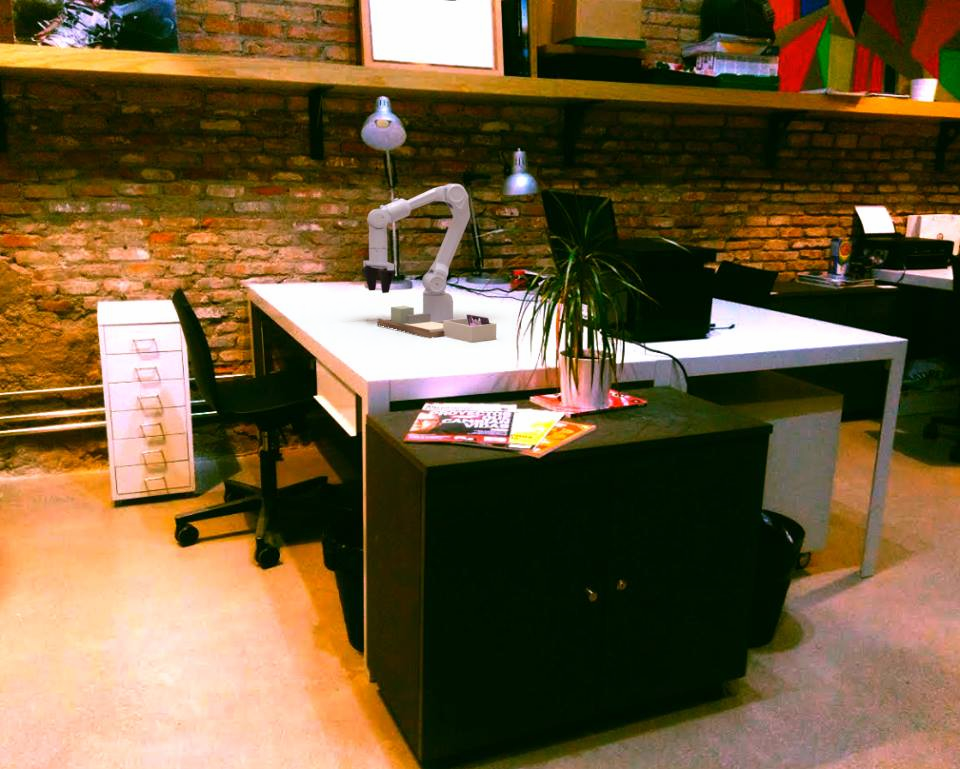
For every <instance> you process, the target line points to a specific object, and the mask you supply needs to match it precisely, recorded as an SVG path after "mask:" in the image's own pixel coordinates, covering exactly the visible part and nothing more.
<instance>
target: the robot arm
mask: <svg viewBox="0 0 960 769" xmlns="http://www.w3.org/2000/svg"><path fill="white" fill-rule="evenodd" d="M466 190H467V189H465V187H464V186H463V185H462V184H459V183H446V184H445V185H441V186H437V187H434V188H431V189H429V190H427V191H425V192H423V193H421V194H418V195H416V196H413V197H412V198H410V199H408V200H406V199H405V198H400V199H399V197H396V198H394V199H393V202H390V203H386V204H385V205H383V204H381V205H379V208H375V209H374V208H373V209H372V210H371V211H370V212H369V213H368V216H367V218H366V220H367V223H368V225H369V226H368V231H369V233H368V259H367V260H363V261H362V262H363V263H362V264H363V265H362V266H363V268H361V272H362V273H363V276H364V277H365V281H366V285H367V288H368V291H371V292H372V291H376V289H377V278H378V276H379V279H380V286H381V287H380V288H381V289H380V290H381V293H382V294H389V292H390V288H391V284H392V281H393V278H394V277H395V275H396V273H397V270H395V264H394V263H391V262H388V233H387V231H388V230H387V228H388V227H387V226H388V224H393V223H395V222H397V221H400V220H402V219H404V218H406V217H409V216H410V214H411V211H412V210H415V209H417V208H420V207H422V206H425V205H428V204H430V203H433V202H444V203H445V204H446V206H448V207H449V210H450V212H451V214H452V219H451V222H450V223H449V226H448V228H447V231H446V232H445V235H444V238H443V241H442V242H441V246H439V250H438V252H437V255H436V257H435V260H434V261H433V263H432V265H431V266H430V267H429V269H428V271H427V272H426V273H425V274H424V275H423V277H422V281H421V283H422V285H423V288H424V290H423V292H422V314H424V313H429V314H430V321H435V322H440V323H443V321H445V320H454V319H455V318H454V299H453V297H452V295H451V294H450V293H449V292H446V291H445V290H446V288H447V277H448V276H449V269H450V265H451V263H452V260H453V259H454V256H455V254H456V252H457V249H458V246H459V244H460V242H461V240H462V237H463V234H464V232H465V230H466V227H467V226H468V225H467V224H468V222H469V220H470V217H471V211H470V205H469V194H468V192H467V191H466Z"/></svg>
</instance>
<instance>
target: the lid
mask: <svg viewBox="0 0 960 769" xmlns="http://www.w3.org/2000/svg"><path fill="white" fill-rule="evenodd" d="M442 323H443V322H440V323H437V322H432V321H430V314H429V313H424V314H423V313H415V314H414V315H406V324H405V325H410V326H414V327H419V328H423V329H428V330H429V332H435V331H443V324H442Z"/></svg>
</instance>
